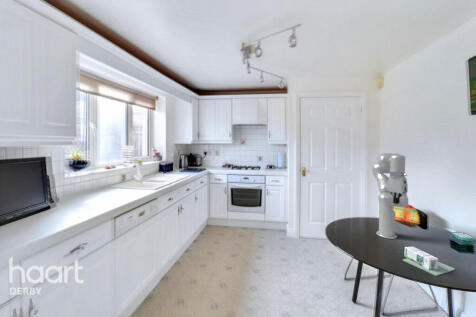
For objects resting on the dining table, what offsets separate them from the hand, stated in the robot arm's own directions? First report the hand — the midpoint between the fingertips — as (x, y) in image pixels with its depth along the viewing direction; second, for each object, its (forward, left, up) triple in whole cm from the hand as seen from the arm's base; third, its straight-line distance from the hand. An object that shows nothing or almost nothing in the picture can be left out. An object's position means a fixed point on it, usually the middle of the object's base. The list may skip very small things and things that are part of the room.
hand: (396, 203), depth 137 cm
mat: (+3, +20, -29) cm, 35 cm away
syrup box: (+4, +10, -26) cm, 28 cm away
